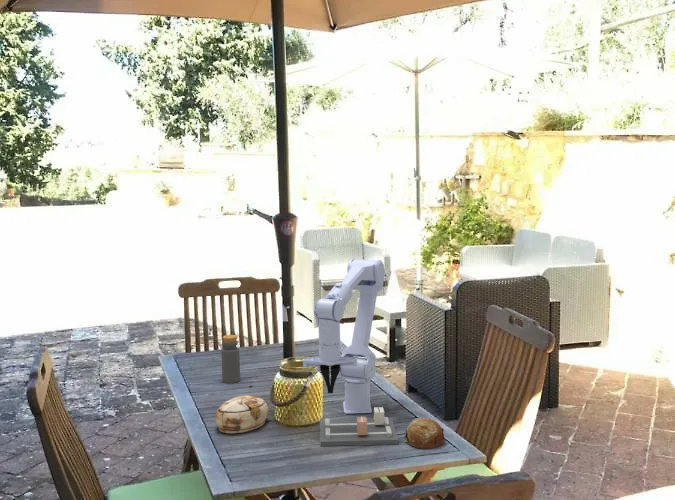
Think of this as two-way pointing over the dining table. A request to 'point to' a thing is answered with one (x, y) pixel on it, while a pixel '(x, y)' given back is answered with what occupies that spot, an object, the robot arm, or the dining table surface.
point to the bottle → (230, 359)
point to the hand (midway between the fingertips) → (330, 391)
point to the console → (346, 432)
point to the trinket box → (241, 414)
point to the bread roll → (424, 433)
